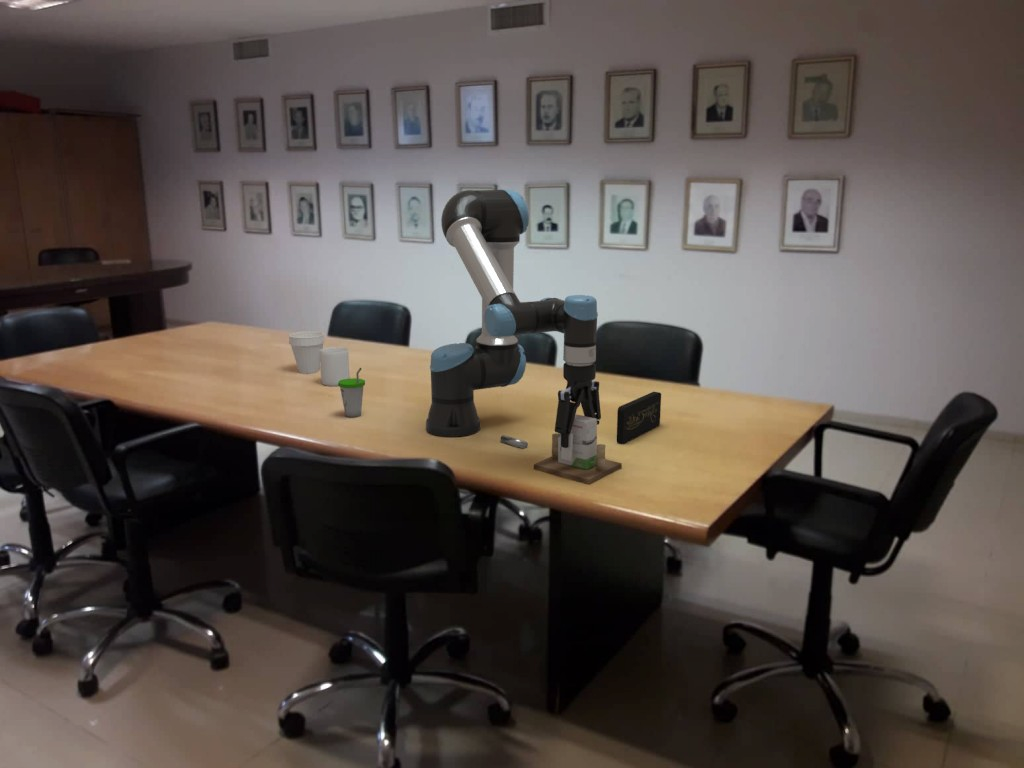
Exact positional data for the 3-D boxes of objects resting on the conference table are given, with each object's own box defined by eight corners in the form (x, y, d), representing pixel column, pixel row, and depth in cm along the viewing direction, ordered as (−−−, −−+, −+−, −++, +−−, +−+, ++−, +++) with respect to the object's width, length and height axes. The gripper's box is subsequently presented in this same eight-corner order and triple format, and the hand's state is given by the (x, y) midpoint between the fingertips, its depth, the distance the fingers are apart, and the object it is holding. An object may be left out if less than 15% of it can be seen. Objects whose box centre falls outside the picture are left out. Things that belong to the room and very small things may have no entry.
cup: (337, 413, 241) (335, 364, 237) (364, 410, 244) (361, 362, 240) (342, 420, 234) (339, 369, 230) (369, 417, 237) (366, 367, 233)
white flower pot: (288, 369, 296) (285, 332, 292) (322, 366, 301) (320, 330, 297) (294, 376, 285) (292, 338, 282) (329, 373, 290) (327, 335, 287)
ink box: (597, 465, 194) (598, 417, 191) (585, 470, 190) (586, 422, 187) (568, 457, 199) (569, 411, 196) (556, 462, 196) (556, 415, 193)
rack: (533, 468, 195) (533, 440, 193) (567, 454, 205) (567, 426, 204) (588, 484, 185) (589, 454, 183) (621, 467, 196) (622, 439, 194)
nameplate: (653, 424, 230) (655, 390, 227) (659, 426, 229) (661, 391, 226) (616, 443, 214) (617, 407, 211) (622, 445, 213) (624, 408, 210)
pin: (506, 439, 216) (501, 444, 215) (503, 433, 215) (499, 438, 214) (528, 445, 211) (524, 450, 210) (526, 440, 210) (521, 445, 209)
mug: (337, 388, 270) (335, 353, 267) (309, 383, 276) (307, 350, 273) (355, 381, 278) (353, 348, 275) (328, 377, 284) (326, 345, 281)
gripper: (566, 373, 178) (564, 470, 184) (617, 357, 194) (615, 446, 200) (539, 368, 183) (538, 462, 189) (591, 352, 199) (589, 440, 205)
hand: (577, 454), depth 194 cm, fingers open, 8 cm apart
